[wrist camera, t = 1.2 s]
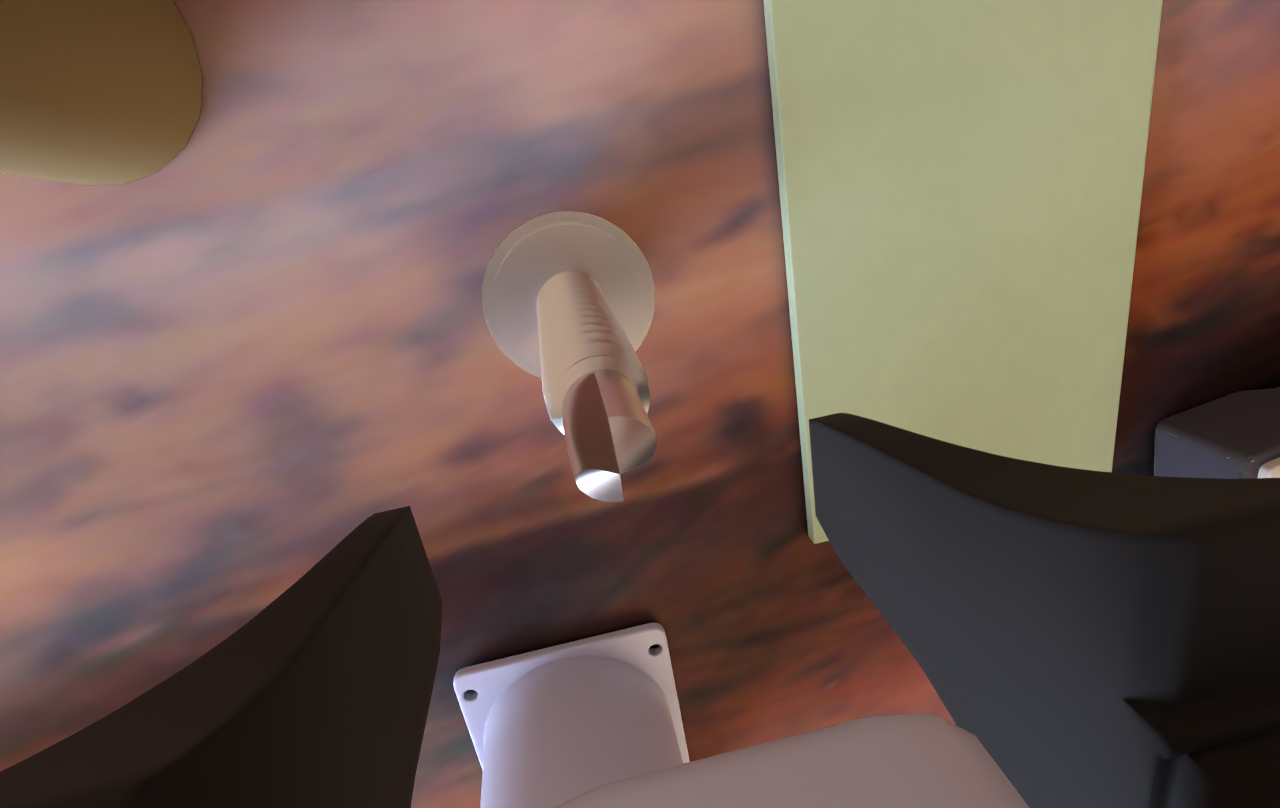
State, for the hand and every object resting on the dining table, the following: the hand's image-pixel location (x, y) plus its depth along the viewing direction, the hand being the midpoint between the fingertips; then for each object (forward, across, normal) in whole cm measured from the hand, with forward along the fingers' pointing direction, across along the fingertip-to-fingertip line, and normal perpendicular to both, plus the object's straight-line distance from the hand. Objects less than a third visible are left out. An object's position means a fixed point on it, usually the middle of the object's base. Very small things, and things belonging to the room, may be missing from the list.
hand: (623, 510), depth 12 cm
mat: (+10, -13, -1) cm, 17 cm away
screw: (+11, 0, -2) cm, 11 cm away
